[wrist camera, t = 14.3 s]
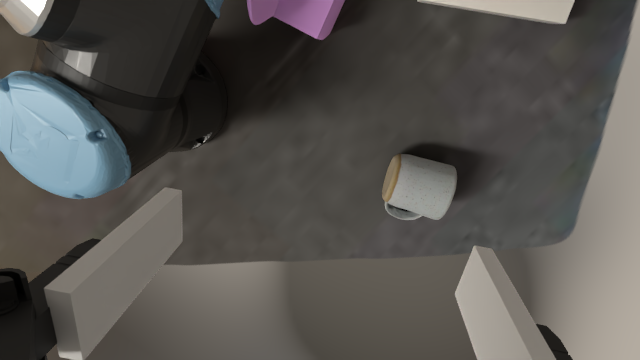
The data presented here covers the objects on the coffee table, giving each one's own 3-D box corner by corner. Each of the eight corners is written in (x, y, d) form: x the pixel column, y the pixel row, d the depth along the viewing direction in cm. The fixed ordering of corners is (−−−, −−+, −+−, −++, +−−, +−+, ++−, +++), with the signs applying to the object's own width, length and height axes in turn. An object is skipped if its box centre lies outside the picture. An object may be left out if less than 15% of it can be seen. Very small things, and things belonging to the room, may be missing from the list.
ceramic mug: (393, 143, 49) (398, 164, 42) (450, 157, 49) (464, 180, 42) (372, 207, 54) (373, 235, 47) (424, 220, 54) (433, 250, 47)
